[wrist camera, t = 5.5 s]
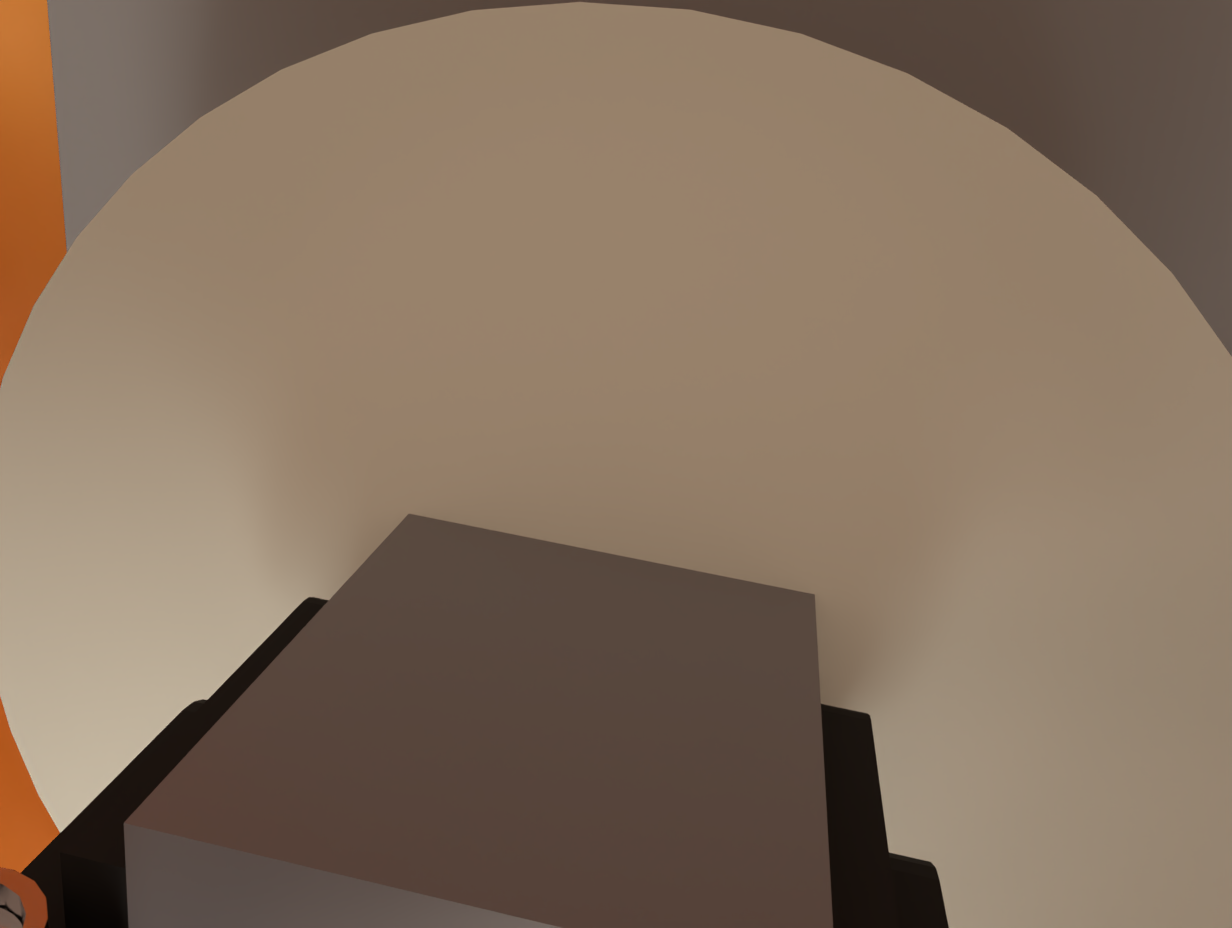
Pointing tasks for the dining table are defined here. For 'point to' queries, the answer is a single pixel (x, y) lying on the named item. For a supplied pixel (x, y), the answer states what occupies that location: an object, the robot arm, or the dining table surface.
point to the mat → (803, 3)
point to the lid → (621, 497)
